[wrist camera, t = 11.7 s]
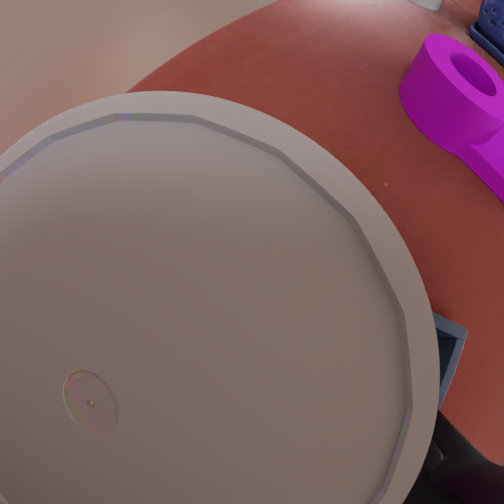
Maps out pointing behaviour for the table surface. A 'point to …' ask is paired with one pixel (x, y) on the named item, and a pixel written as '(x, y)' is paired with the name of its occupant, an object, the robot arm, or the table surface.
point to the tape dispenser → (458, 105)
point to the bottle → (204, 315)
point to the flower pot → (490, 28)
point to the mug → (429, 4)
